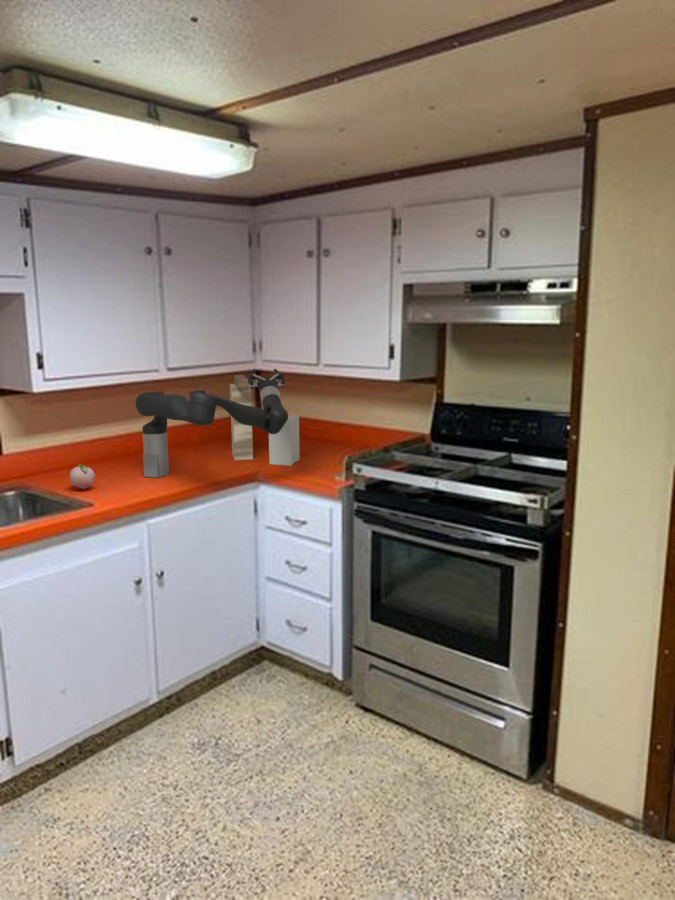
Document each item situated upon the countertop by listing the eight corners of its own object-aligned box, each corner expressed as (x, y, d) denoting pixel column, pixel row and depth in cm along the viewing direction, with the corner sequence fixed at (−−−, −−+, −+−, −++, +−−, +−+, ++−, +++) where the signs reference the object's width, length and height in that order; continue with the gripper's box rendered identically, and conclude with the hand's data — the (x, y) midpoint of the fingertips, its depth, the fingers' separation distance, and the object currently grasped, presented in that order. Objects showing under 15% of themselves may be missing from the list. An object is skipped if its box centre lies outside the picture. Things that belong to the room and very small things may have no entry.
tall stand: (253, 459, 302) (250, 386, 295) (234, 460, 300) (232, 387, 293) (250, 453, 313) (247, 383, 307) (232, 454, 311) (229, 384, 305)
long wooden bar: (248, 388, 287) (247, 379, 286) (238, 389, 286) (238, 379, 285) (243, 383, 307) (242, 374, 306) (234, 383, 306) (233, 374, 305)
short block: (291, 465, 290) (290, 418, 286) (269, 464, 292) (268, 417, 288) (299, 460, 299) (298, 415, 295) (278, 459, 302) (277, 414, 298)
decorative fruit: (66, 489, 252) (64, 463, 250) (87, 485, 258) (85, 459, 256) (77, 494, 246) (75, 467, 244) (99, 490, 252) (97, 463, 250)
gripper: (251, 402, 269) (246, 378, 281) (287, 401, 272) (281, 377, 284) (251, 387, 264) (247, 363, 276) (288, 385, 267) (282, 362, 279)
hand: (264, 370), depth 280 cm, fingers open, 8 cm apart
